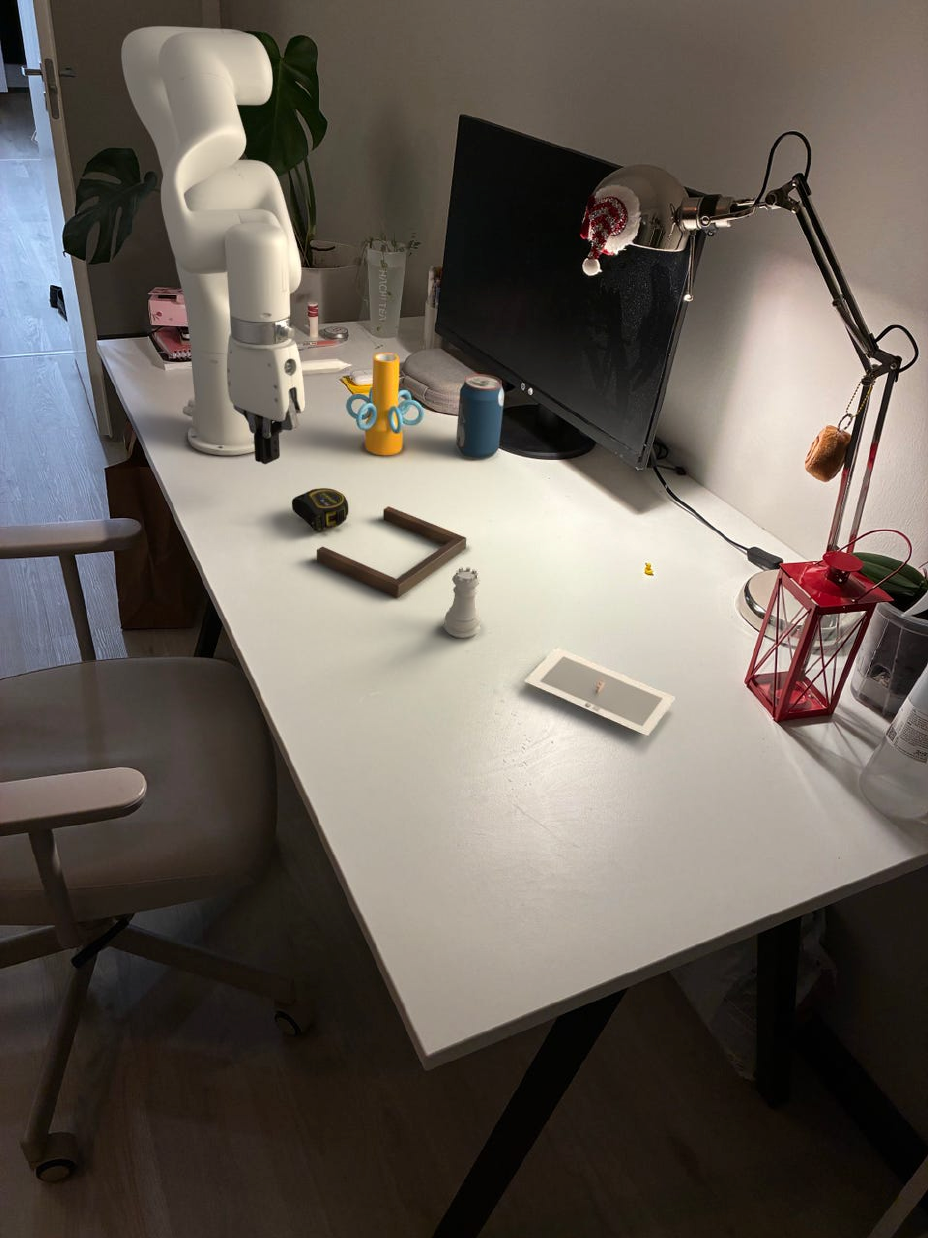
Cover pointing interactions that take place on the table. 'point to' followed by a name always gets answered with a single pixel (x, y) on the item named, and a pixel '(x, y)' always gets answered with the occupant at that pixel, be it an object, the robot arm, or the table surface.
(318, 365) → the marker
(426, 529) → the frame
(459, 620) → the rook chess piece
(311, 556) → the table surface
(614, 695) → the touchpad
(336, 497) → the tape measure
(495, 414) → the soda can
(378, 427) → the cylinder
